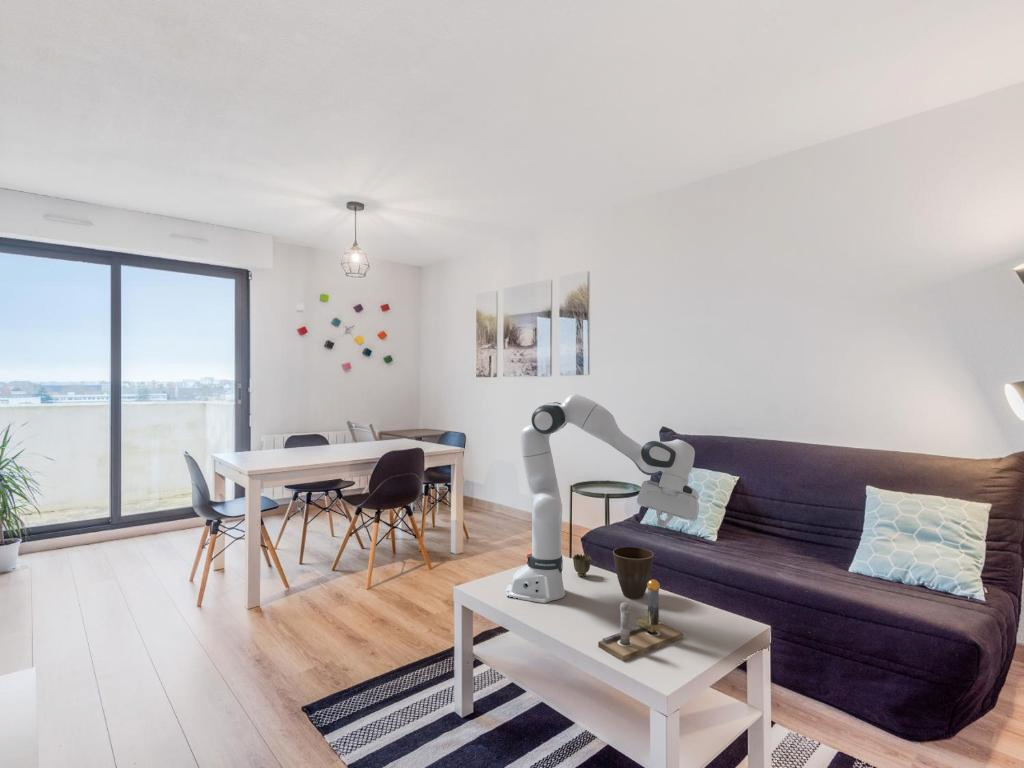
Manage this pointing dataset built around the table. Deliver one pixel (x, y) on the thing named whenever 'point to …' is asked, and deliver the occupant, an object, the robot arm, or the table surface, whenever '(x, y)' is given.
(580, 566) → the cup
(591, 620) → the table surface
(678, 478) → the robot arm
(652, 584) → the sliding leg
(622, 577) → the plant pot
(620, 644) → the wooden peg board
